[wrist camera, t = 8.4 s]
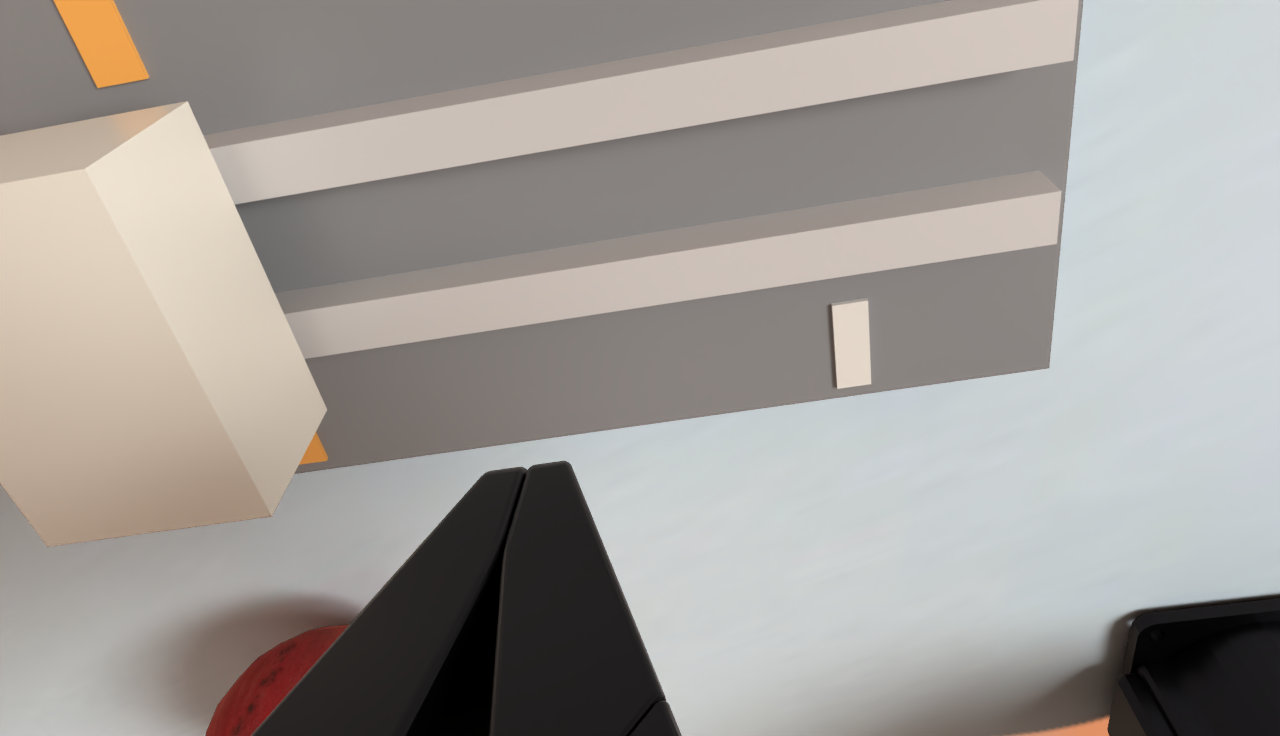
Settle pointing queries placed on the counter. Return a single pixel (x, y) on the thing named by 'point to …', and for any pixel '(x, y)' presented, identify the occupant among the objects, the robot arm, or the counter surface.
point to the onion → (269, 682)
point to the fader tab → (139, 336)
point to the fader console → (604, 193)
